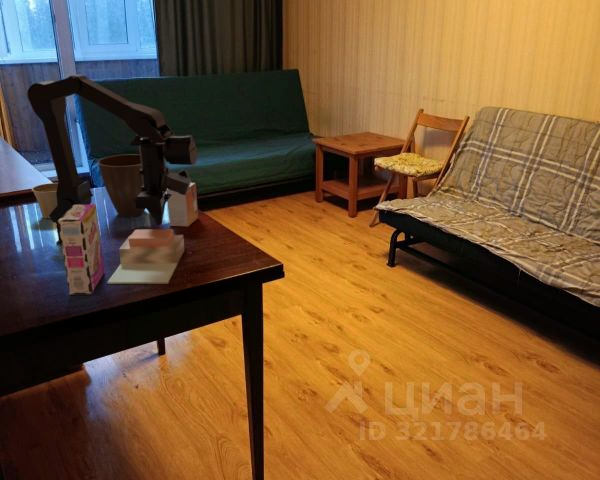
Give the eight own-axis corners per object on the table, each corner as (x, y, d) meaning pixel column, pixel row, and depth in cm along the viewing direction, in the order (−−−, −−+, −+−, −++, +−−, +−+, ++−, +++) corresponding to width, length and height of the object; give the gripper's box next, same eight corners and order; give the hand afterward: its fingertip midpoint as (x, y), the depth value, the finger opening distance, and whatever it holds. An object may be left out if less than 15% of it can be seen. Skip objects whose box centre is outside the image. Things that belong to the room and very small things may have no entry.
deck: (121, 265, 130) (118, 249, 129) (131, 250, 138) (129, 235, 137) (177, 264, 130) (175, 248, 129) (184, 250, 138) (183, 234, 137)
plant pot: (149, 202, 175) (144, 152, 169) (164, 215, 163) (158, 161, 157) (100, 210, 168) (92, 157, 162) (111, 224, 156) (104, 168, 150)
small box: (188, 227, 154) (185, 190, 150) (169, 226, 155) (165, 189, 151) (198, 218, 161) (196, 182, 157) (180, 216, 162) (177, 181, 158)
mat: (107, 283, 121) (107, 282, 121) (121, 265, 130) (120, 263, 130) (167, 283, 121) (167, 281, 121) (177, 264, 130) (177, 263, 130)
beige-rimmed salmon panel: (129, 246, 130) (128, 238, 129) (136, 237, 136) (135, 229, 135) (168, 246, 130) (167, 238, 129) (173, 237, 136) (172, 229, 135)
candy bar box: (93, 294, 116) (82, 220, 110) (69, 296, 116) (55, 220, 110) (106, 272, 126) (96, 202, 120) (83, 273, 126) (72, 203, 120)
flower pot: (78, 214, 165) (74, 185, 162) (50, 223, 158) (44, 193, 154) (58, 208, 170) (53, 181, 166) (30, 217, 162) (24, 188, 159)
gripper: (179, 173, 126) (184, 238, 132) (193, 154, 143) (198, 212, 149) (129, 173, 126) (137, 238, 132) (150, 155, 143) (156, 213, 149)
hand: (159, 224), depth 140 cm, fingers closed
